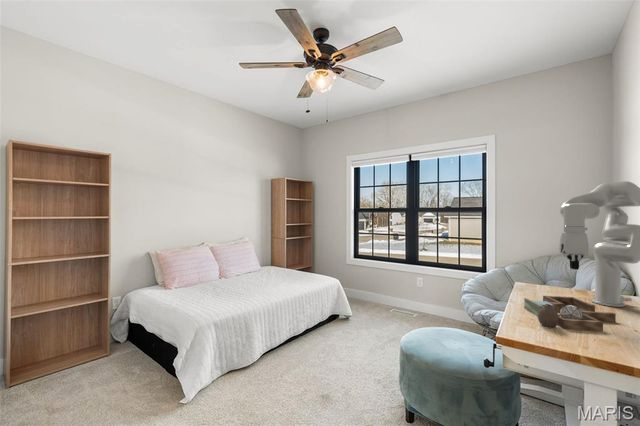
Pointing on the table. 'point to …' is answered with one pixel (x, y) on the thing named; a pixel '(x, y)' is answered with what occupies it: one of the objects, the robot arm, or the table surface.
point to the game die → (571, 312)
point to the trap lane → (589, 323)
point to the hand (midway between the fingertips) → (574, 268)
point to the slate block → (543, 303)
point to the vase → (548, 316)
